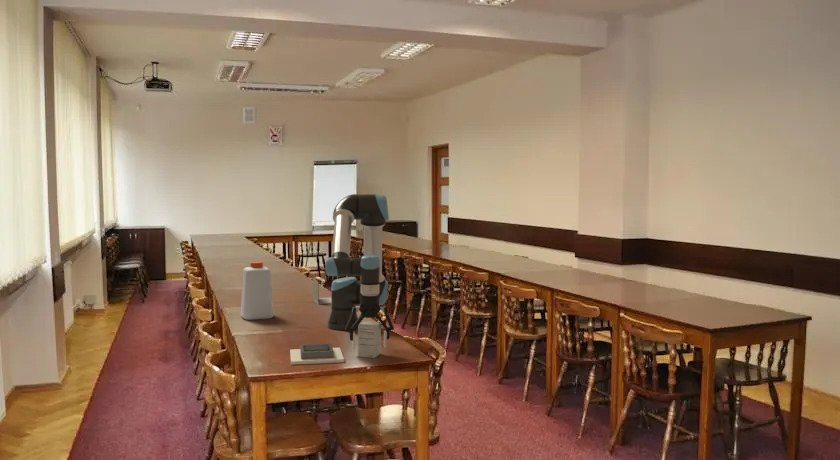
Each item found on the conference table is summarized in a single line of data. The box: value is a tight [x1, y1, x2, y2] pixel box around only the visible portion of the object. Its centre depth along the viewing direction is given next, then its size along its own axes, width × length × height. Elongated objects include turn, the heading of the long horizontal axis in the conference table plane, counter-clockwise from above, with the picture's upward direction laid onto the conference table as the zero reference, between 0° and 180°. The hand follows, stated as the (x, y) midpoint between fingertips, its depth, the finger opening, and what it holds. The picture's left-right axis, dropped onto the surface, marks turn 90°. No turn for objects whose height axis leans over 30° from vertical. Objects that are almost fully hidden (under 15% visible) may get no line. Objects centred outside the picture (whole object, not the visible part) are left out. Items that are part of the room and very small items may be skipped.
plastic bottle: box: [240, 261, 274, 321], centre depth 329 cm, size 15×15×28 cm
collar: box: [299, 343, 334, 359], centre depth 255 cm, size 12×12×2 cm
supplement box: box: [357, 321, 382, 359], centre depth 260 cm, size 7×7×13 cm
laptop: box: [312, 277, 332, 305], centre depth 376 cm, size 18×12×13 cm
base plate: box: [289, 347, 345, 366], centre depth 255 cm, size 18×20×1 cm
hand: (369, 347), depth 260 cm, fingers open, 12 cm apart
